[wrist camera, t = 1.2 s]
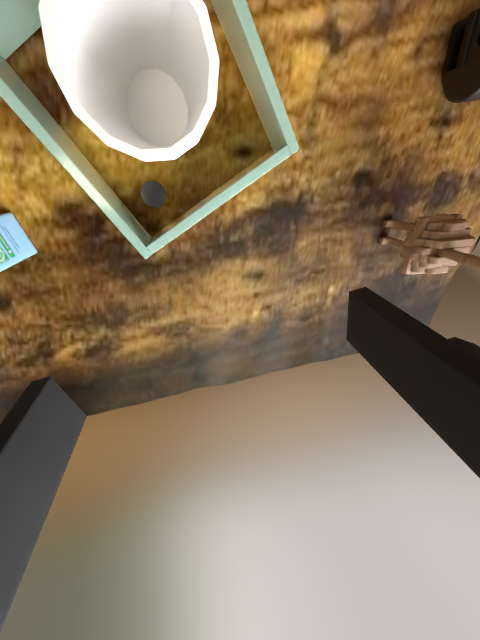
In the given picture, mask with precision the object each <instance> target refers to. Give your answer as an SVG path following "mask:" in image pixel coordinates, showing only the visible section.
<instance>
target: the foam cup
mask: <svg viewBox="0 0 480 640" xmlns="http://www.w3.org/2000/svg"><path fill="white" fill-rule="evenodd" d="M38 9H39V15H40V20H41V26H42V32H43V38H44V43H45V49H46V55H47V60H48V65H49V67H50V69H51V71H52V73H53V75H54V77H55V78H56V80H57V82H58V84H59V86H60V88H61V90H62V92H63V94H64V95H65V97H66V99H67V101H68V103H69V105H70V107H71V109H72V111H73V113H74V114H75V115H76V116H77V117H78V118H79V119H80V120H81V121H82V122H83V123H84V124H85V125H86V126H87V127H89V128H90V129H91V130H92V131H93V132H94V133H95V134H96V135H97V136H98V137H99V138H100V139H101V140H102V141H103V142H104V143H105V144H106V145H107V146H109V147H111V148H114V149H116V150H118V151H121V152H123V153H126V154H128V155H130V156H133V157H135V158H137V159H140V160H142V161H145V162H150V161H163V160H175V159H177V158H178V157H179V156H181V155H182V154H183V153H185V152H186V151H188V150H189V149H190V148H192V147H193V146H195V145H196V144H197V143H198V142H199V140H200V138H201V136H202V134H203V132H204V130H205V128H206V126H207V124H208V122H209V120H210V118H211V116H212V114H213V111H214V109H215V107H216V100H217V87H218V74H219V61H220V60H219V56H218V52H217V48H216V44H215V39H214V35H213V31H212V27H211V23H210V19H209V15H208V11H207V7H206V5H205V4H204V2H203V1H202V0H40V1H39V6H38Z"/></svg>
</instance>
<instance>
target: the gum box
mask: <svg viewBox="0 0 480 640" xmlns="http://www.w3.org/2000/svg"><path fill="white" fill-rule="evenodd" d="M36 253H37V250H36V249H35V248H34V246H33V245H32V243H31V241H30V240H29V238H28V237H27V235H26V233H25V232H24V230H23V229H22V227H21V225H20V224H19V222H18V221H17V219H16V218H15V216H14V215H13V213H11V212H9V213H4V214H0V272H1V271H3V270H5V269H7V268H9V267H11V266H13V265H14V264H16V263H18V262H20V261H22V260H24V259H26V258H28V257H30V256H32V255H34V254H36Z"/></svg>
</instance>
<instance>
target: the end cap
mask: <svg viewBox="0 0 480 640" xmlns="http://www.w3.org/2000/svg"><path fill="white" fill-rule="evenodd" d="M442 84H443V92H444V95H445V97H446V98H447V99H448V100H449V101H451V102H454V103H460V102H467V101H473V100H480V8H478V9H477V10H475V11H473V12H471V13H470V14H469V15H468V18H467V19H463V20H461V21H459V22H457V23H456V24H455V25H454V27H453V29H452V33H451V37H450V41H449V46H448V50H447V55H446V59H445V63H444V68H443V72H442Z"/></svg>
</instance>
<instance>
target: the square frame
mask: <svg viewBox="0 0 480 640" xmlns="http://www.w3.org/2000/svg"><path fill="white" fill-rule="evenodd" d="M39 1H40V0H0V96H1V98H2V99H3V100H4V101H5V102H6V103H7V104H8V105H9V107H10V108H11V109H12V110H13V111H14V112H15V113H16V114H17V116H18V117H19V118H20V119H21V120H22V121H23V122H24V123H25V125H26V126H27V127H28V128H29V129H30V130H31V131H32V132H33V134H34V135H35V136H36V137H37V138H38V139H39V140H40V141H41V143H42V144H43V145H44V146H45V147H46V148H47V149H48V150H49V152H50V153H51V154H52V155H53V156H54V157H55V158H56V159H57V161H58V162H59V163H60V164H61V165H62V166H63V167H64V168H65V170H66V171H67V172H68V173H69V174H70V175H71V176H72V177H73V179H74V180H75V181H76V182H77V183H78V184H79V185H80V186H81V188H82V189H83V190H84V191H85V192H86V193H87V194H88V195H89V197H90V198H91V199H92V200H93V201H94V202H95V203H96V204H97V206H98V207H99V208H100V209H101V210H102V211H103V212H104V213H105V215H106V216H107V217H108V218H109V219H110V220H111V221H112V222H113V224H114V225H115V226H116V227H117V228H118V229H119V230H120V231H121V233H122V234H123V235H124V236H125V237H126V238H127V239H128V240H129V242H130V243H131V244H132V245H133V246H134V247H135V248H136V249H137V251H138V252H139V253H140V254H141V255H142V256H143V257H144V258H145V259H147V258H148V257H149V256H151V255H152V254H154V253H155V252H156V251H158V250H159V249H161V248H162V247H163V246H165V245H166V244H167V243H169V242H170V241H172V240H173V239H174V238H176V237H177V236H179V235H180V234H181V233H183V232H184V231H186V230H187V229H188V228H190V227H191V226H193V225H194V224H195V223H197V222H198V221H200V220H201V219H202V218H204V217H205V216H207V215H208V214H209V213H211V212H212V211H214V210H215V209H216V208H218V207H219V206H221V205H222V204H223V203H225V202H226V201H228V200H229V199H230V198H232V197H233V196H235V195H236V194H237V193H239V192H240V191H242V190H243V189H244V188H246V187H247V186H249V185H250V184H251V183H253V182H254V181H255V180H257V179H258V178H260V177H261V176H262V175H264V174H265V173H267V172H268V171H269V170H271V169H272V168H274V167H275V166H276V165H278V164H279V163H281V162H282V161H283V160H285V159H286V158H288V157H289V156H290V155H292V154H293V153H295V152H296V151H297V150H299V146H298V143H297V141H296V138H295V135H294V132H293V130H292V127H291V124H290V121H289V119H288V116H287V113H286V110H285V107H284V105H283V102H282V99H281V96H280V94H279V91H278V88H277V85H276V82H275V80H274V77H273V74H272V71H271V69H270V66H269V63H268V60H267V58H266V55H265V52H264V49H263V46H262V44H261V41H260V38H259V35H258V33H257V30H256V27H255V24H254V21H253V19H252V16H251V13H250V10H249V8H248V5H247V2H246V0H210V1H211V3H212V6H213V8H214V11H215V13H216V15H217V18H218V20H219V23H220V25H221V27H222V30H223V32H224V35H225V37H226V39H227V42H228V44H229V47H230V49H231V51H232V54H233V56H234V58H235V61H236V63H237V66H238V68H239V70H240V73H241V75H242V78H243V80H244V82H245V85H246V87H247V90H248V92H249V94H250V97H251V99H252V102H253V104H254V106H255V109H256V111H257V114H258V116H259V118H260V121H261V123H262V126H263V128H264V130H265V133H266V135H267V137H268V140H269V142H270V145H271V147H272V149H271V150H270V151H269V152H267V153H266V154H264V155H263V156H262V157H260V158H259V159H258V160H256V161H255V162H253V163H252V164H251V165H249V166H248V167H247V168H245V169H244V170H242V171H241V172H240V173H238V174H237V175H236V176H234V177H233V178H231V179H230V180H229V181H227V182H226V183H225V184H223V185H222V186H220V187H219V188H218V189H216V190H215V191H214V192H212V193H211V194H210V195H208V196H207V197H205V198H204V199H203V200H201V201H200V202H199V203H197V204H196V205H194V206H193V207H192V208H190V209H189V210H188V211H186V212H185V213H183V214H182V215H181V216H179V217H178V218H177V219H175V220H174V221H172V222H171V223H170V224H168V225H167V226H166V227H164V228H163V229H161V230H160V231H159V232H157V233H156V234H155V235H153V236H152V237H150V235H149V234H148V233H147V232H146V230H145V229H144V228H143V227H142V226H141V224H140V223H139V222H138V221H137V219H136V218H135V217H134V216H133V215H132V213H131V212H130V211H129V210H128V209H127V207H126V206H125V205H124V204H123V202H122V201H121V200H120V199H119V198H118V196H117V195H116V194H115V193H114V192H113V190H112V189H111V188H110V187H109V185H108V184H107V183H106V182H105V181H104V179H103V178H102V177H101V176H100V175H99V173H98V172H97V171H96V170H95V168H94V167H93V166H92V165H91V164H90V162H89V161H88V160H87V159H86V158H85V156H84V155H83V154H82V153H81V151H80V150H79V149H78V148H77V147H76V145H75V144H74V143H73V142H72V141H71V139H70V138H69V137H68V136H67V134H66V133H65V132H64V131H63V130H62V128H61V127H60V126H59V125H58V124H57V122H56V121H55V120H54V119H53V117H52V116H51V115H50V114H49V113H48V111H47V110H46V109H45V108H44V106H43V105H42V104H41V103H40V102H39V100H38V99H37V98H36V97H35V96H34V94H33V93H32V92H31V91H30V89H29V88H28V87H27V86H26V85H25V83H24V82H23V81H22V80H21V79H20V77H19V76H18V75H17V74H16V72H15V71H14V70H13V69H12V68H11V66H10V65H9V64H8V63H7V62H6V60H5V59H7V58H8V57H9V56H10V55H11V54H12V53H13V52H14V51H15V50H17V49H18V48H19V47H20V46H21V45H22V44H23V43H24V42H25V41H26V40H27V39H28V38H29V37H30V36H31V35H32V34H33V33H34V32H36V31H37V30H38V29H39V28H40V27H41V20H40V15H39V9H38V6H39ZM141 197H142V199H143V201H144V202H145V203H146V204H147V205H148V206H150V207H155V208H156V207H160V206H162V205H163V204H164V202H165V200H166V193H165V190H164V188H163V186H162V185H161V184H159V183H158V182H156V181H147V182H145V183H144V184H143V185H142V187H141Z"/></svg>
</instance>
